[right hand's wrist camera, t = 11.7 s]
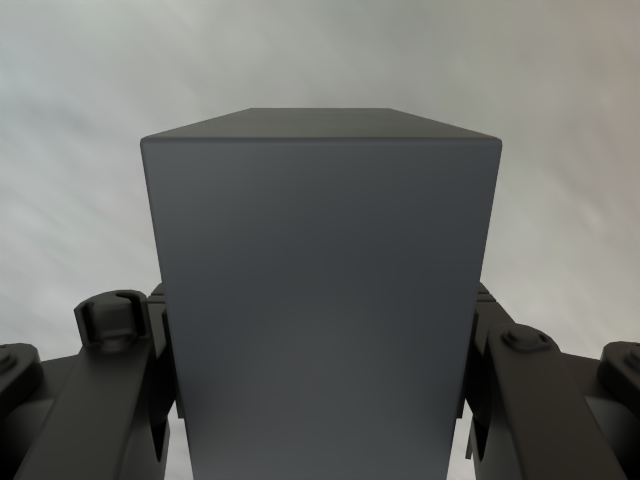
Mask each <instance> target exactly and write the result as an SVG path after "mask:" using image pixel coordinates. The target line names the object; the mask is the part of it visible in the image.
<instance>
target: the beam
mask: <svg viewBox="0 0 640 480" xmlns="http://www.w3.org/2000/svg"><path fill="white" fill-rule="evenodd" d="M140 148H141V154H142V160H143V167H144V173H145V179H146V185H147V192H148V198H149V204H150V210H151V216H152V223H153V229H154V235H155V241H156V248H157V254H158V260H159V266H160V272H161V279H162V285H163V291H164V297H165V304H166V310H167V316H168V322H169V329H170V335H171V341H172V347H173V353H174V360H175V366H176V372H177V378H178V385H179V391H180V397H181V403H182V409H183V416H184V422H185V428H186V434H187V441H188V447H189V453H190V459H191V465H192V472H193V478H194V480H446V478H447V472H448V466H449V460H450V454H451V449H452V443H453V437H454V431H455V425H456V419H457V413H458V407H459V401H460V395H461V389H462V383H463V377H464V371H465V365H466V359H467V353H468V347H469V341H470V335H471V329H472V323H473V317H474V312H475V306H476V300H477V294H478V288H479V282H480V276H481V270H482V264H483V258H484V252H485V246H486V240H487V234H488V228H489V222H490V216H491V210H492V204H493V198H494V192H495V186H496V181H497V175H498V169H499V163H500V157H501V151H502V141H501V139H499V138H497V137H493V136H489V135H486V134H482V133H478V132H475V131H471V130H467V129H463V128H460V127H456V126H452V125H449V124H445V123H441V122H438V121H434V120H430V119H426V118H423V117H419V116H415V115H412V114H408V113H404V112H400V111H397V110H393V109H384V108H250V109H246V110H243V111H239V112H235V113H231V114H228V115H224V116H220V117H217V118H213V119H209V120H205V121H202V122H198V123H194V124H191V125H187V126H183V127H179V128H176V129H172V130H168V131H164V132H161V133H157V134H153V135H150V136H146V137H144V138H142V139H141V141H140Z"/></svg>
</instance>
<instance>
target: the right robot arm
mask: <svg viewBox="0 0 640 480" xmlns="http://www.w3.org/2000/svg"><path fill="white" fill-rule="evenodd" d="M74 313H75V317H76V321H77V325H78V329H79V333H80V337H81V341H82V345H83V346H82V348H81V350H80V352H79V354H77V355H73V356H69V357H63V358H58V359H53V360H47V361H42V362H41V360H40V357H39V354H38V351H37V348H35V347H34V346H32V345H31V344H24V343H16V344H4V345H0V480H164V476H165V469H166V461H167V453H168V445H169V438H170V428H169V422H168V416H167V415H168V413H169V411H170V409H171V407H172V405H173V403H174V401H176V407H177V413H178V418H184V416H183V409H182V403H181V397H180V391H179V385H178V378H177V372H176V366H175V360H174V353H173V347H172V341H171V335H170V329H169V322H168V316H167V310H166V304H165V297H164V291H163V285H162V283H160V284H159V285H158V286H157V287H156V288H155V290H154V291H153V292H152V293H151V296H149V297H148V298H146V295H145V294H143V293H142V292H140V291H135V290H116V291H110V292H105V293H102V294H99V295H96V296H93V297H91V298H89V299H87V300H85V301H83V302H81V303H80V304H79V305H78V306H77V307H76V308H75V309H74ZM465 398H466V400H467V402H468V405H469V407H470V409H471V411H472V413H473V416H472V422H471V428H470V433H469V439H468V445H467V450H466V457H465V459H470V460H471V455H472V452H473V460H474V468H475V475H476V480H640V343H636V342H633V343H632V342H623V341H619V342H611V343H609V344H607V345H606V346H604V348H603V352H602V355H601V358H600V360H597V359H592V358H586V357H581V356H576V355H570V354H566V353H562V352H561V351H560V349H559V347H558V345H557V344H556V343H555V342H554V341H553V339H552V338H551V337H549V336H548V335H546V334H545V333H543V332H542V331H540V330H537V329H535V328H532V327H530V326H526V325H522V324H517V323H515V322H514V321H513V319H512V318H511V317H510V316H509V315H508V313H507V312H506V311H505V310H504V309H503V308H502V306H501V305H500V304H499V303H498V302H496V299H495V298H494V297H493V296H492V295H491V294H489V291H488V290H487V289H486V288H485V287H484V285H483V284H482V283H481V282H479V288H478V294H477V300H476V306H475V312H474V317H473V323H472V329H471V335H470V341H469V347H468V353H467V359H466V365H465V371H464V377H463V383H462V389H461V395H460V401H459V407H458V413H457V418H462V415H463V409H464V403H465Z"/></svg>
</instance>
